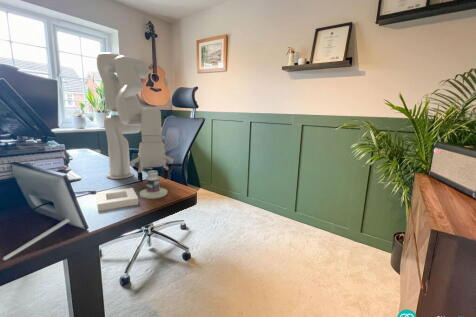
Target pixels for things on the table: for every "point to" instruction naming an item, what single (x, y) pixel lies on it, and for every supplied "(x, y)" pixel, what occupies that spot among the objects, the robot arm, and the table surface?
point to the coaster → (153, 196)
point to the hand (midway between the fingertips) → (153, 179)
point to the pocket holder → (116, 199)
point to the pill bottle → (152, 182)
